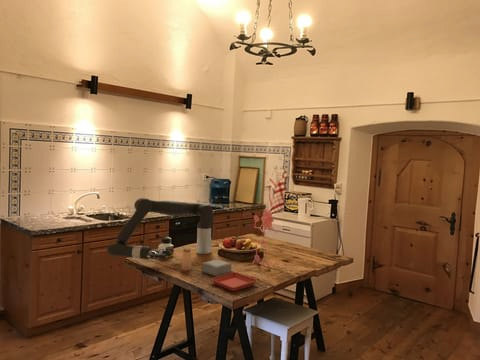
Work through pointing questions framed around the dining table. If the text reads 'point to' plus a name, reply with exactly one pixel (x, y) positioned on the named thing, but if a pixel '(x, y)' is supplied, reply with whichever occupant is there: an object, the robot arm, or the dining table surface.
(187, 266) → the jar
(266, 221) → the figurine
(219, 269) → the grey lidded square box
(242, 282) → the plant saucer
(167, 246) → the medicine bottle
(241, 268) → the dining table surface
